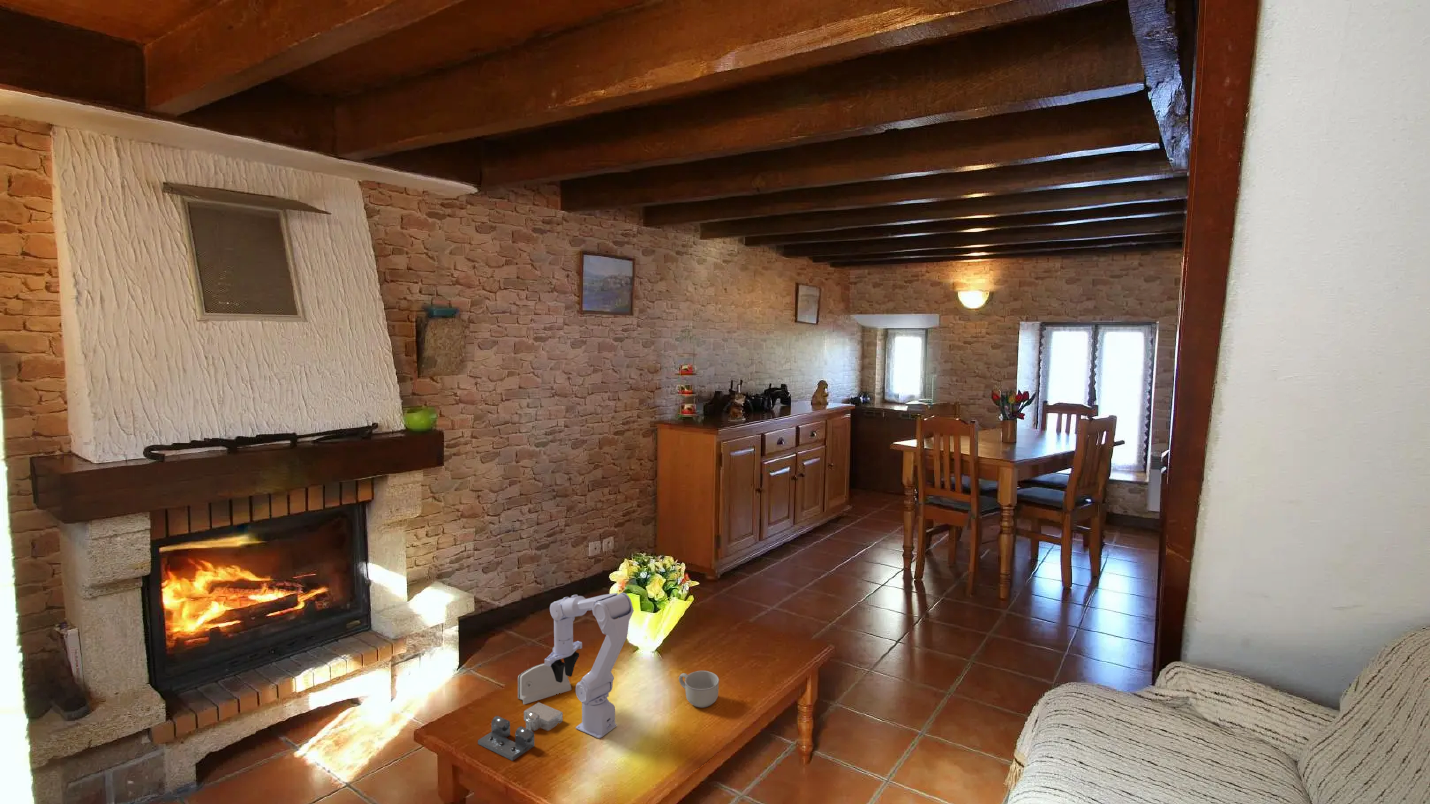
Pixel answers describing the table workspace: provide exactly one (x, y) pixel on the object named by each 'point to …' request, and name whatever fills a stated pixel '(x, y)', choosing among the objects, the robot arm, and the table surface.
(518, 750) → the fixed leaf
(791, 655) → the table surface
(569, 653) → the robot arm
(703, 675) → the teacup
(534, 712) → the grey boxy piece
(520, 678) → the grey rounded slab
